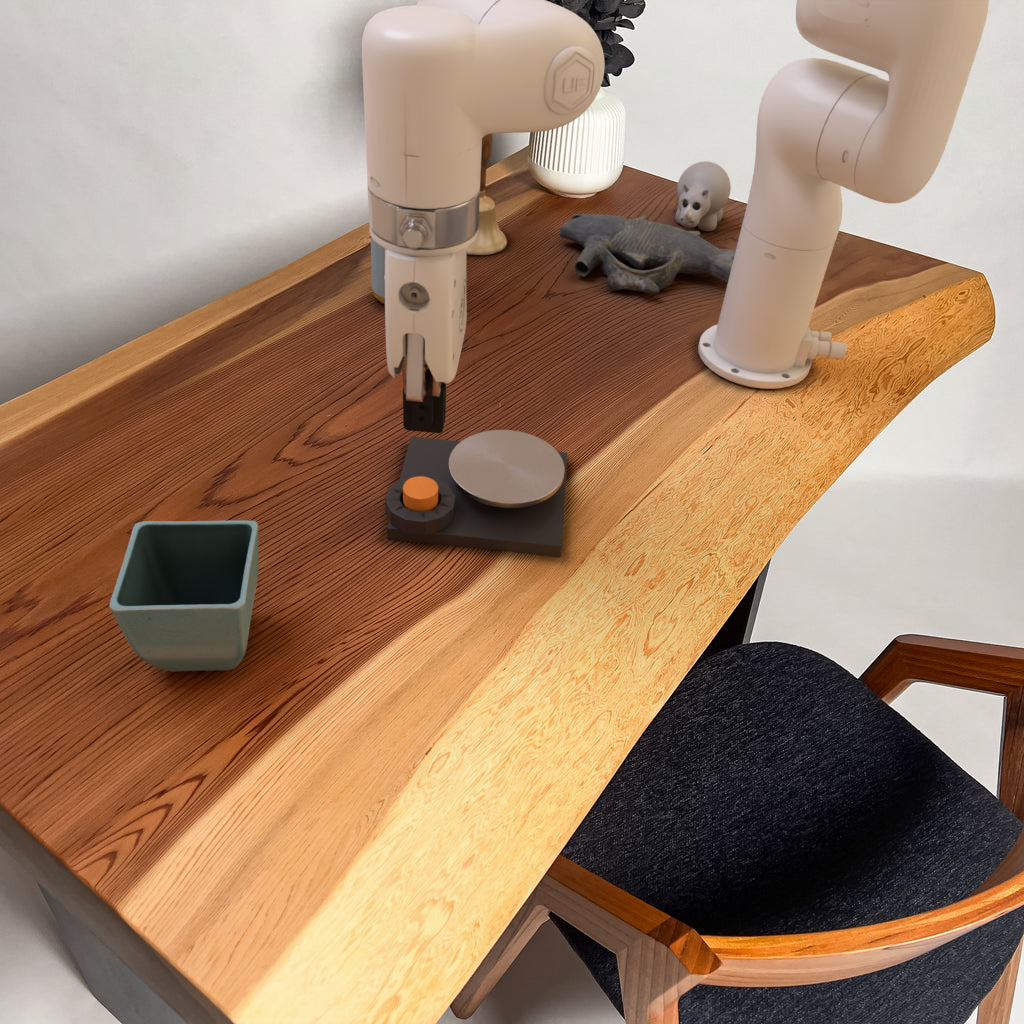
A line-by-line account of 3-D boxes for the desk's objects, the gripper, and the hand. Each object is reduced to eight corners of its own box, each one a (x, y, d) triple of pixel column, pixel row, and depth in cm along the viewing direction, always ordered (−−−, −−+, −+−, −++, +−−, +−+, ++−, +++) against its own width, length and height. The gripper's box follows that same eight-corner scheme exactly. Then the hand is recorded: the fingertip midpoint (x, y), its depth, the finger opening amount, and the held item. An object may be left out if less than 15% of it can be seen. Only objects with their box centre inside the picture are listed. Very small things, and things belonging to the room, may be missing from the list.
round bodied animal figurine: (653, 239, 130) (664, 178, 124) (679, 207, 138) (691, 148, 132) (704, 253, 128) (717, 191, 122) (728, 220, 136) (742, 160, 130)
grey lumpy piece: (580, 189, 127) (531, 244, 118) (763, 234, 120) (726, 297, 111) (579, 223, 131) (531, 279, 122) (756, 269, 124) (719, 332, 114)
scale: (565, 463, 92) (569, 439, 90) (560, 561, 82) (563, 536, 80) (406, 447, 92) (406, 422, 90) (381, 542, 82) (380, 517, 80)
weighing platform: (566, 440, 90) (566, 435, 90) (561, 514, 82) (562, 508, 82) (455, 429, 90) (456, 424, 90) (441, 501, 82) (441, 496, 82)
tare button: (440, 491, 84) (440, 478, 83) (435, 514, 82) (435, 500, 81) (406, 488, 84) (406, 474, 83) (400, 510, 82) (400, 497, 81)
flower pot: (156, 603, 76) (134, 519, 70) (270, 602, 77) (259, 518, 71) (132, 693, 69) (106, 609, 63) (258, 691, 70) (244, 607, 64)
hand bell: (515, 234, 128) (525, 112, 117) (494, 261, 122) (502, 135, 111) (457, 221, 129) (461, 100, 119) (433, 247, 123) (436, 121, 113)
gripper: (466, 269, 60) (459, 490, 72) (489, 171, 71) (480, 378, 83) (347, 258, 60) (361, 481, 72) (388, 162, 71) (394, 370, 84)
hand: (424, 425), depth 78 cm, fingers closed
